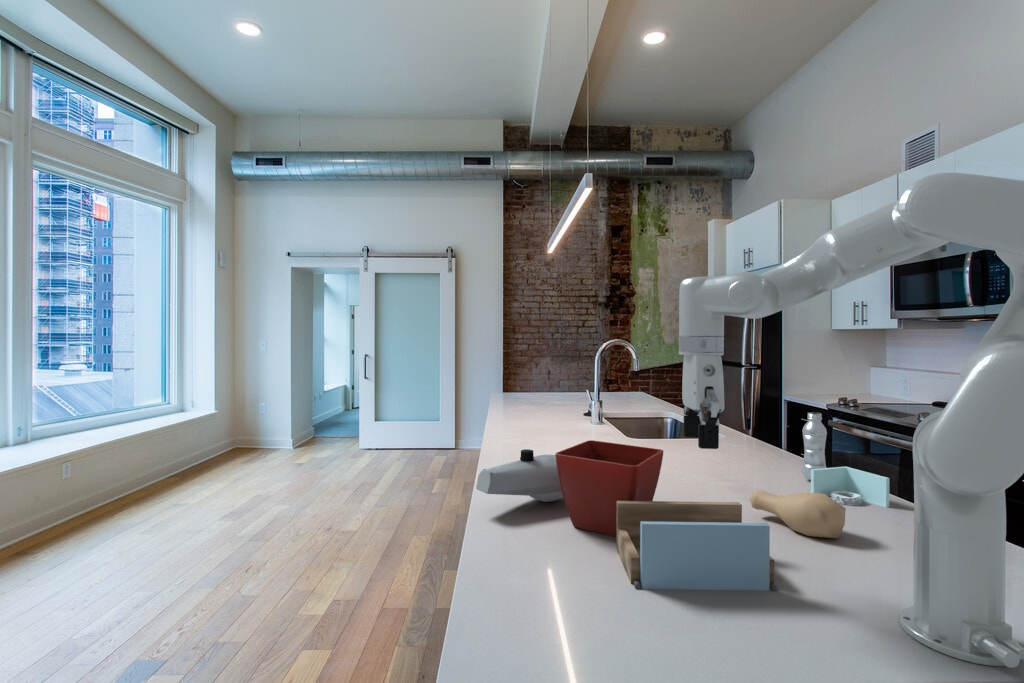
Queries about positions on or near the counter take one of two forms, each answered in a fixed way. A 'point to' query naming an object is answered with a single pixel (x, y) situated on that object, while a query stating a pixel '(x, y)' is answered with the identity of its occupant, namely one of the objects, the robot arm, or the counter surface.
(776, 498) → the squash
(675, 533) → the panel
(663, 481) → the counter surface
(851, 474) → the l-shaped corner panel
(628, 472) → the plant pot
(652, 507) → the box
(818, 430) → the plastic bottle
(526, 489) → the street light
